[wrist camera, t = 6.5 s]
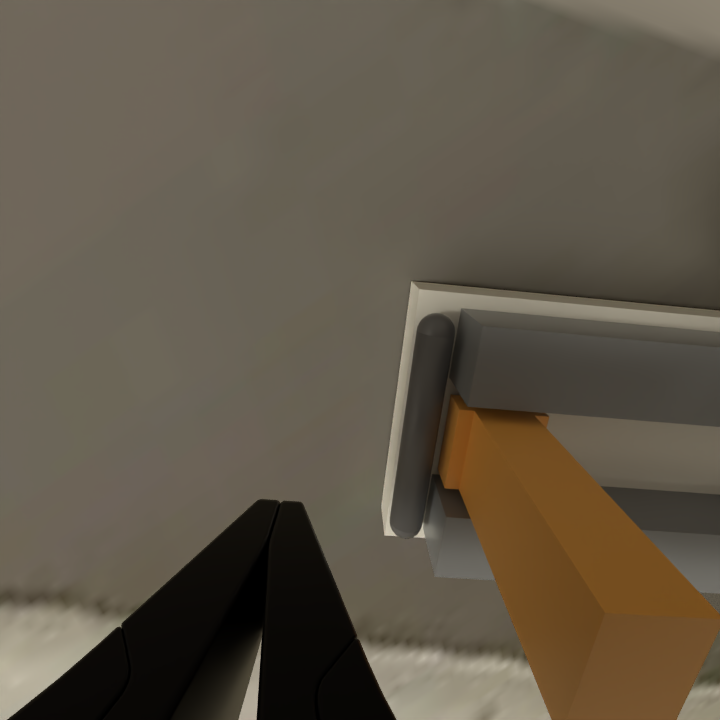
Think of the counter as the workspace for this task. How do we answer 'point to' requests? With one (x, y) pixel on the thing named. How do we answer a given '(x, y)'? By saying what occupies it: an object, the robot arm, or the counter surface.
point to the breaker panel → (564, 412)
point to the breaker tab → (575, 572)
